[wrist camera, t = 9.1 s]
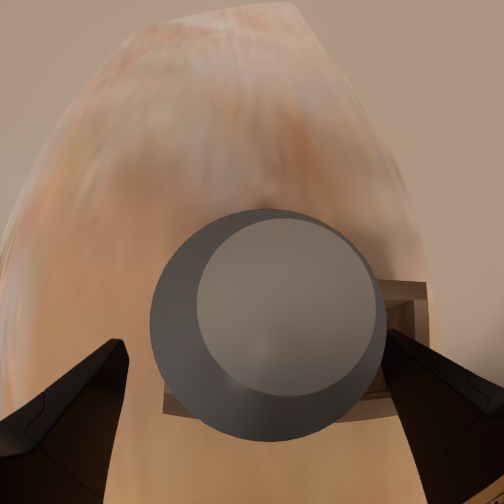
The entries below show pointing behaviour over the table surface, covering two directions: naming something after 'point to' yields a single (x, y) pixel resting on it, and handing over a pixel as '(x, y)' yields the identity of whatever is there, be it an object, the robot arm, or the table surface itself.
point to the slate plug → (268, 325)
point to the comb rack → (399, 317)
